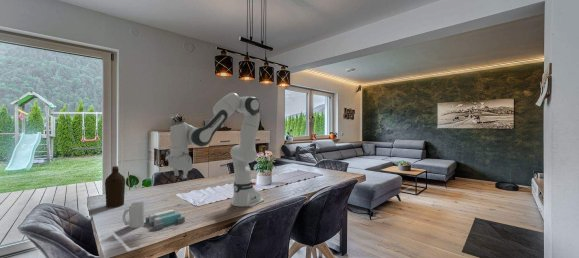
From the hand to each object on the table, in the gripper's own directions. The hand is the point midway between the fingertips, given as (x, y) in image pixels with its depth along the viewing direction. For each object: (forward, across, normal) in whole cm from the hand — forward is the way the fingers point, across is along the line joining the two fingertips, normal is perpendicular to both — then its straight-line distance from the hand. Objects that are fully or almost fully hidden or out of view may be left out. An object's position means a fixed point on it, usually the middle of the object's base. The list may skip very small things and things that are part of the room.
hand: (180, 176), depth 134 cm
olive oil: (+23, +54, +17) cm, 61 cm away
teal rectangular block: (+23, -2, +9) cm, 24 cm away
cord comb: (+24, +1, +9) cm, 25 cm away
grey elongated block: (+22, +5, +9) cm, 25 cm away
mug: (+23, +7, +22) cm, 33 cm away
